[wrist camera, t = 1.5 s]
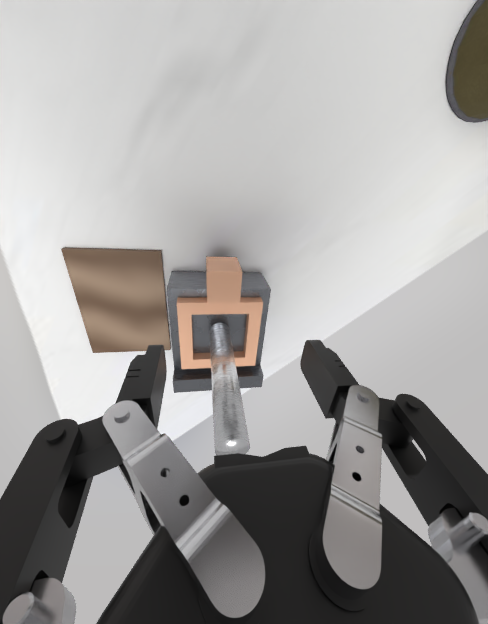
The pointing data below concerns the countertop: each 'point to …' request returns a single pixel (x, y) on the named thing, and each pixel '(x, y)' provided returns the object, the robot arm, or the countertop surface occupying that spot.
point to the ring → (220, 312)
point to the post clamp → (219, 355)
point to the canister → (470, 67)
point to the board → (120, 297)
